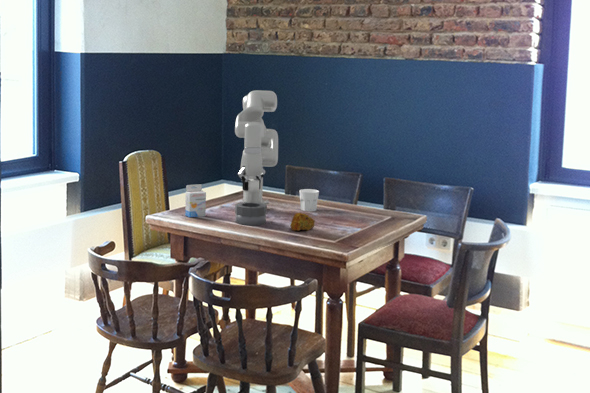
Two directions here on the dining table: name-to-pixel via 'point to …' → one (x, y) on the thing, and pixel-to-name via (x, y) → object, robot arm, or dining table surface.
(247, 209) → the grey stepped puck
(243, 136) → the robot arm
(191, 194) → the ink box
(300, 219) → the rock
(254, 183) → the cap
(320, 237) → the dining table surface
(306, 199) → the cup
